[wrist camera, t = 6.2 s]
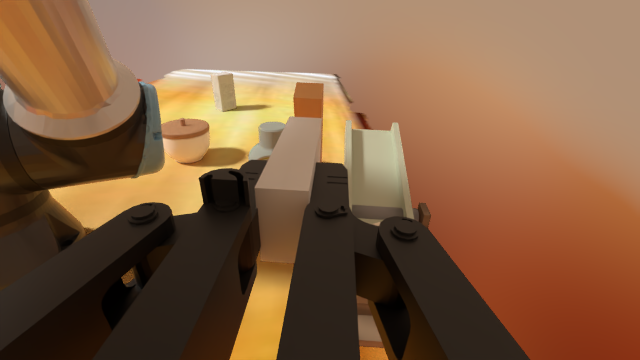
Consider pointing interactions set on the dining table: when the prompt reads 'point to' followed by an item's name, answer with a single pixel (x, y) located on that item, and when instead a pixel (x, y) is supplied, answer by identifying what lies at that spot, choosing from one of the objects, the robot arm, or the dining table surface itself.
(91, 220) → the dining table surface
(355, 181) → the lever
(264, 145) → the air freshener
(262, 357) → the dining table surface
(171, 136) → the lidded jar
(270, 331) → the dining table surface
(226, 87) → the skincare box
